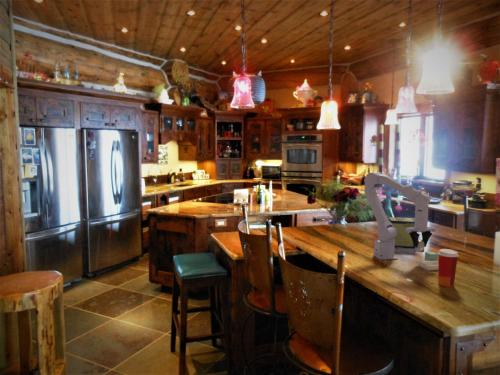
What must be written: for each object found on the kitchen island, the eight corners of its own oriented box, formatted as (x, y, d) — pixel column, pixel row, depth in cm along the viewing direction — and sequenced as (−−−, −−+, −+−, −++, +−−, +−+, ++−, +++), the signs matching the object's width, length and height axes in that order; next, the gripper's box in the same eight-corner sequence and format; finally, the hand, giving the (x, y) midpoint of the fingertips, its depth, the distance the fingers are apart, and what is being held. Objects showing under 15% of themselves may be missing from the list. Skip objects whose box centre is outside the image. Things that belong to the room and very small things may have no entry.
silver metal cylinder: (418, 252, 182) (418, 242, 181) (413, 250, 186) (413, 240, 185) (425, 252, 183) (426, 241, 182) (420, 249, 187) (421, 239, 186)
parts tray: (427, 270, 175) (427, 265, 175) (418, 265, 182) (418, 261, 182) (451, 269, 177) (451, 264, 177) (441, 264, 184) (441, 260, 184)
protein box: (416, 249, 211) (417, 221, 210) (386, 247, 214) (388, 220, 213) (412, 244, 221) (413, 217, 220) (384, 242, 225) (385, 216, 223)
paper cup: (450, 281, 162) (452, 248, 160) (460, 287, 154) (463, 253, 153) (431, 281, 162) (433, 248, 160) (441, 287, 154) (443, 253, 152)
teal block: (429, 264, 184) (430, 254, 184) (424, 261, 188) (425, 252, 188) (437, 264, 185) (437, 254, 185) (432, 261, 189) (432, 251, 188)
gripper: (412, 220, 178) (410, 249, 179) (440, 220, 180) (438, 248, 181) (403, 218, 184) (402, 245, 186) (431, 217, 187) (429, 244, 188)
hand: (419, 246), depth 184 cm, fingers closed on silver metal cylinder, 4 cm apart
